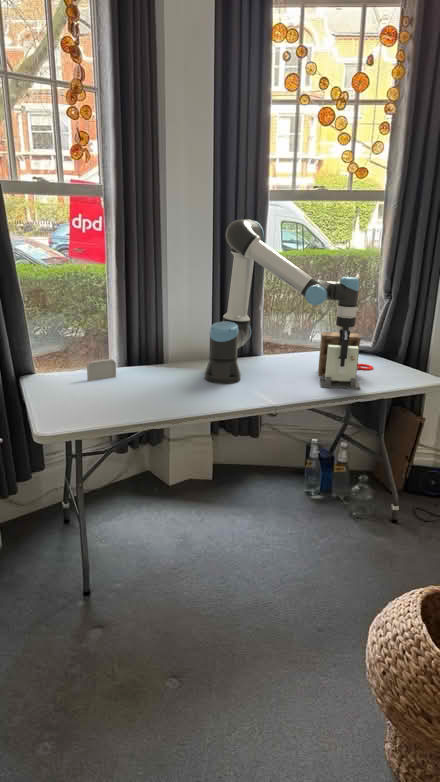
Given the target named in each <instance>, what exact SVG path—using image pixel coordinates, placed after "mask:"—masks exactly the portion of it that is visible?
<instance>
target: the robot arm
mask: <svg viewBox="0 0 440 782" xmlns="http://www.w3.org/2000/svg"><path fill="white" fill-rule="evenodd" d="M264 238H265V233H264V228H263V226H262V225H261V224H260V223H259V222H258V221H256V220H253V219H248V218H245V219H236V220H234V221H232V222H231V223H230V224H229V225H228V226H227V228H226V231H225V240H226V242H227V244H228V245H229V247H230V253H231V254H232V255H233V261H232V271H231V276H230V279H231V280H230V286H229V287H230V288H229V295H228V302H227V303H228V305H227V312H226V313H224V315H223V316H222V321H218V322H217V321H216V322H214V323H213V324H212V325H211V326H210V328H209V352H208V353H209V359H208V360H209V361H208V362H207V365H206V369H205V371H204V380H206V381H208V382H211V383H214V384H223V385H225V384H235V383H238V382H240V380H241V376H242V375H241V370H240V368H239V363H238V349H239V348H241V347H243V346H244V345H246V344H247V342H248V341H249V339H250V338H251V335H252V328H251V325H250V323H251V318H250V317H249V315H248V312H249V311H248V309H249V303H250V295H251V288H252V281H253V271H254V265H255V263H257V264H258V265H259V266H262V268H264V269H266V270H267V271H268V272H269V273H271V274H272V275H274V276H275V277H277V278H278V279H280V281H282V282H283V283H285V285H288V287H290V288H292V289H293V290H294V291H296V292H297V293H299V295H301V296H303V298H305V300H306V302H307V303H308V304H309V305H312V306H319V305H321V304H323V303H324V302H325V301H337V308H336V309H337V310H336V315H337V316H336V320H335V321H336V323H335V324H336V326H337V327H340V329H339V332H338V333H340V336H339V339H340V340H339V345H341V350H340V357H338V359H339V365H338V374H345V365H346V359H347V351H348V342H349V337H350V333H351V331H350V328H355V327H356V319H357V317H356V316H357V312H359V308H357V307H358V300H359V292H360V280H359V278H358V277H354V276H342V277H340V279H339V281H335V280H334V281H332V280H321V279H314V278H313V277H312V276H310V275H309V274H308V273H306V272H305V271H304V270H302V269H301V268H299V267H298V266H297V265H295V264H294V263H292V262H291V261H290V260H288V259H287V258H286V257H284V256H283V255H282V254H280V253H279V252H278V251H276V250H274V249H273V248H272V247H270V246H269V245H268V244H266V243H265V242H263V241H264Z"/></svg>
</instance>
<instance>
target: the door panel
mask: <svg viewBox="0 0 440 782" xmlns="http://www.w3.org/2000/svg"><path fill="white" fill-rule="evenodd" d="M340 350H341V345H328V352H327V363H326V373H325V376H324V378H325V379H326V377H331V380H336V381H351V378H355V379H357V373H356V369H357V360H358V361H359V355H358V351H359V352H360V347H359V348H358V346H348V351H347V359H346V365H345V374H338V365H339V359H338V357H340Z"/></svg>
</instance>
